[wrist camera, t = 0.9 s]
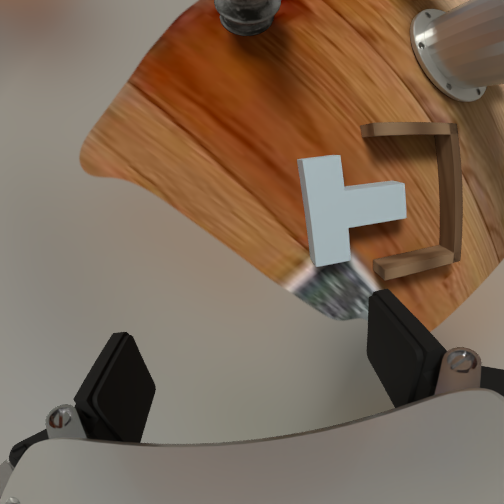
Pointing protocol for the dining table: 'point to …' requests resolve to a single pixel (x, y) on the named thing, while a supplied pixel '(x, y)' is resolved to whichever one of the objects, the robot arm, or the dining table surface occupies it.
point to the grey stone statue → (247, 15)
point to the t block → (342, 207)
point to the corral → (448, 199)
